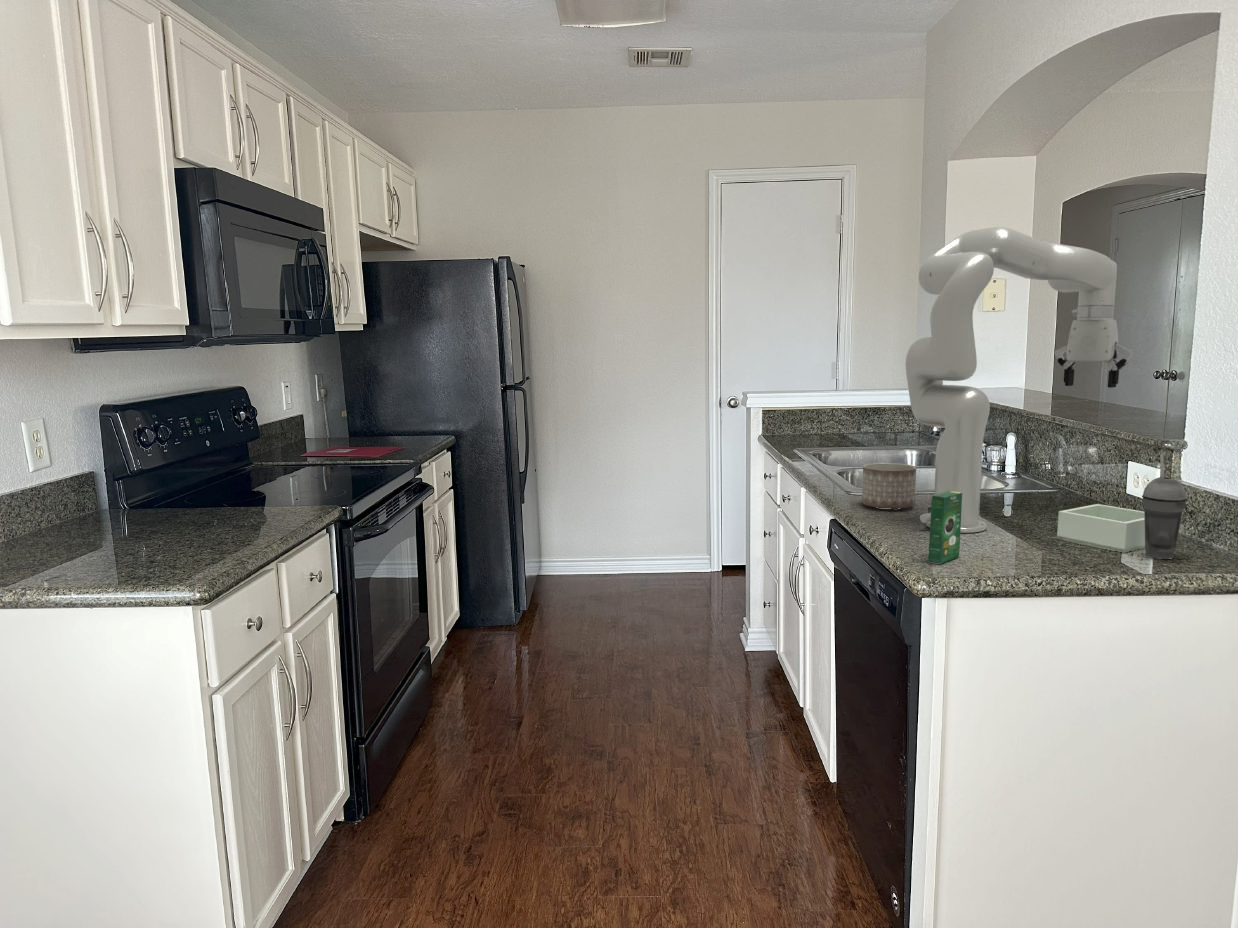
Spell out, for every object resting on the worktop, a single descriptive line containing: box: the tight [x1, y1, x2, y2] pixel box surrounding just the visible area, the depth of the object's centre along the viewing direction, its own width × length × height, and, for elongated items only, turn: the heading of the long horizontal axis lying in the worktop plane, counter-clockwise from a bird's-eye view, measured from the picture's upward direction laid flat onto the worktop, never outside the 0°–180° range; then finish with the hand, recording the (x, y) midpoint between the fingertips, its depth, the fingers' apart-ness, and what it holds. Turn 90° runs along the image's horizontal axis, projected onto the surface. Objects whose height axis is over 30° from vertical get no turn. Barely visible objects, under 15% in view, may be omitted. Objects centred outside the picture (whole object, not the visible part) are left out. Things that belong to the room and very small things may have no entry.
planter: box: [861, 462, 917, 509], centre depth 215 cm, size 13×13×10 cm
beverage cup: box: [1141, 453, 1188, 559], centre depth 164 cm, size 7×7×20 cm
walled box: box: [1056, 503, 1145, 554], centre depth 177 cm, size 14×14×6 cm
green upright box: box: [927, 491, 962, 565], centre depth 164 cm, size 8×3×13 cm, turn 134°
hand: (1090, 386), depth 205 cm, fingers open, 9 cm apart
